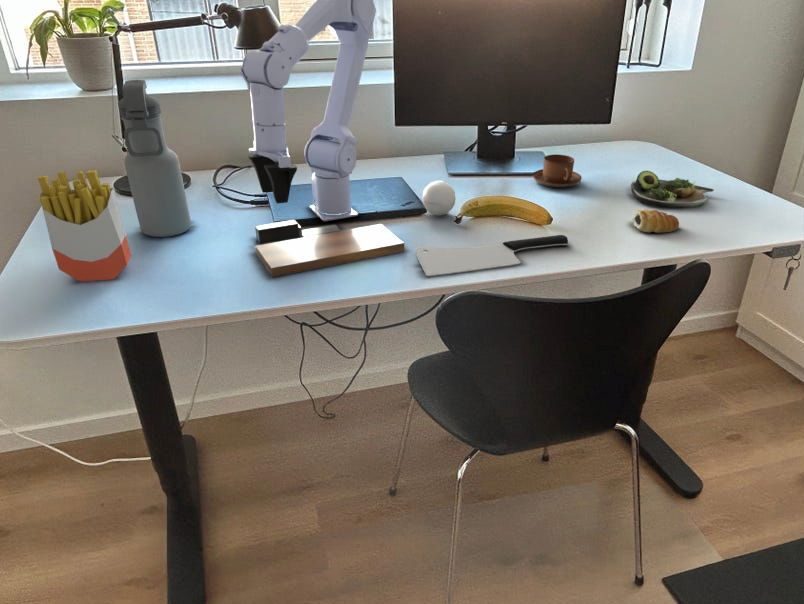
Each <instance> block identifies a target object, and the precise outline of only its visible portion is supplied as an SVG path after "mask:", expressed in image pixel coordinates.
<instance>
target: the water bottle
mask: <svg viewBox="0 0 804 604" xmlns="http://www.w3.org/2000/svg"><path fill="white" fill-rule="evenodd" d="M147 86H148V85H147V82H146V80H145V79H130V80H125V81H124V83H123V85H122V97H123V98H121V99H119V101H117V107H118V110H119V113H120V116H121V118H120V119H121V120H122V121H123V125H124V129H125V130H124V131H123V137H124V138H123V139H124V141H125V145H126V146H125V147H126V150H127V152H128V153H127V154H126V155H125V157H124V160H123V163H124V168H125V172H126V176H127V180H128V186H129V188H130V192H131V196H132V201H133V204H134V208H135V214H136V217H137V220H138V224H139V229H140V231H141V232H142V233H143V234H144V235H146V236H149V237H153V238H154V237H155V238H168V237H175V236H178V235H181V234H183V233H185V232H187V231H189V229H190V228H191V227H192V219H191V215H190V210H189V204H188V199H187V195H186V189H185V185H184V180H183V175H182V170H181V169H182V168H181V165H180V161H179V157H178V154H177V153H176V152H175V151H173V150H172V149H170V148H168V145H167V141H166V136H165V133H164V132H165V131H164V126H163V121H162V117H163V115H162V109H161V104H160V100H159V99H157V98H156V97H154V96H149V95H148V93H147V91H146V89H148V87H147Z"/></svg>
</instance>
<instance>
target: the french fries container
mask: <svg viewBox="0 0 804 604" xmlns="http://www.w3.org/2000/svg"><path fill="white" fill-rule="evenodd" d="M85 175H86V178H87V180H86V178H85ZM85 175H84V172H83V171H82V170H81V171H80V170H79V171H77V172H76V176H77V179H74V180H72V186H73V189H72V188H71V185H70V182H69V180H68V177H67V174H66V171H59V172H57V178H52V179H51V183H50V181H49V178H48V175H47V174H46V175H39V176H38V177H37V181H38V183H39V186H40V188H41V191H42V192H41V193H40V194H39V201H40V204H41V207H42V208H41V209H42V212H43V216H44V220H45V223H46V228H47V233H48V237H49V241H50V245H51V249H52V252H53V255H54V258H55V262H56V264H57V267H58V270H59V271H61V272H62V273H64V274H66V275H68V276H69V277H71V278H73V279H75V280H77V281H79V282H94V281H106V280H107V281H109V280H115V279H116V278H117V277H118V275H119V274H121V272H122V271H123V270H125V268H126V267H127V266H128V264H129V262H130V261H131V260H130V259H131V258H132V253H131V250H130V246H129V241H128V237H127V234H126V230H125V226H124V222H123V219H122V214H121V212H120V207H119V204H118V199H117V196H116V192H115V188H114V187H110V183H109V182H103V183H101V180H100V177H99V174H98V171H97V169H91V170H87V171H86V172H85ZM87 181H88V182H87ZM88 183H89V185H88ZM51 184H52V185H51ZM89 186H90V187H89Z"/></svg>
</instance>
